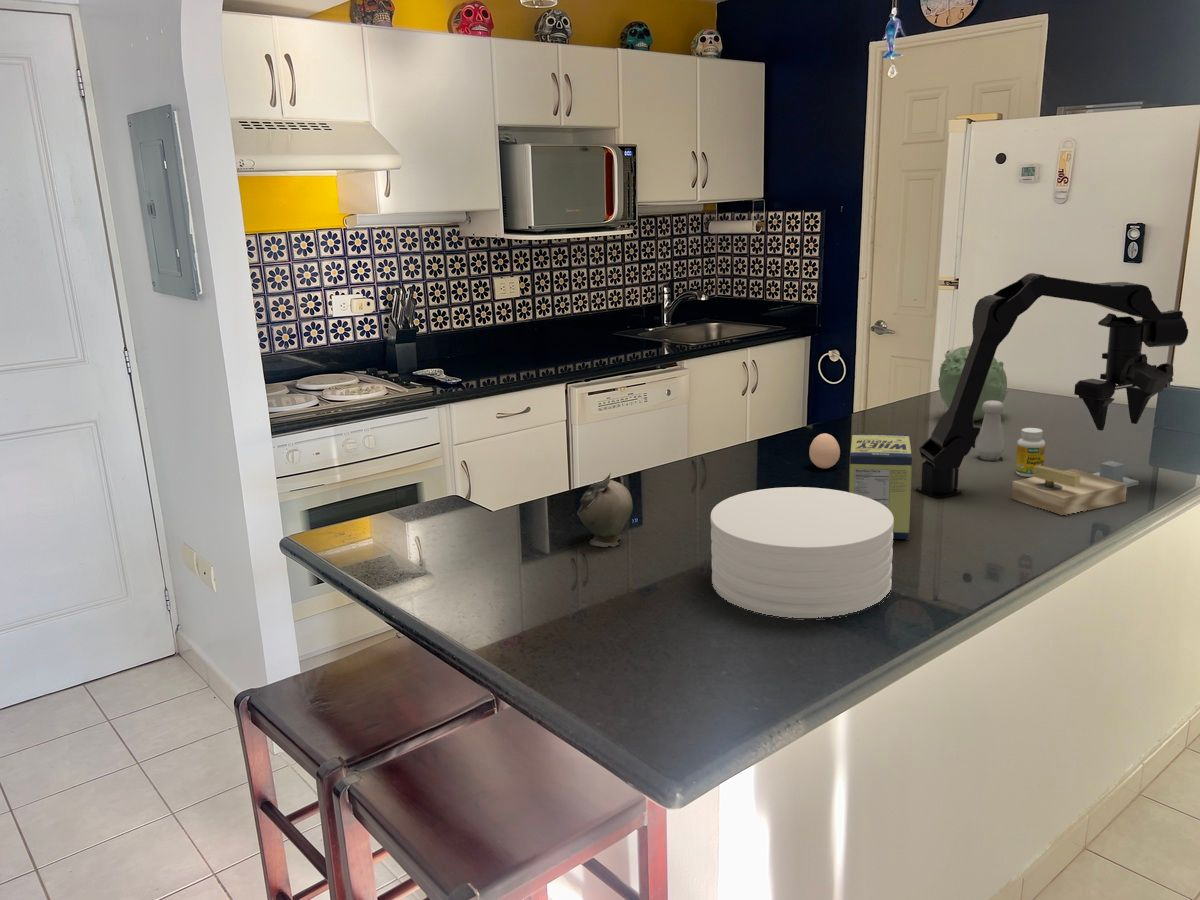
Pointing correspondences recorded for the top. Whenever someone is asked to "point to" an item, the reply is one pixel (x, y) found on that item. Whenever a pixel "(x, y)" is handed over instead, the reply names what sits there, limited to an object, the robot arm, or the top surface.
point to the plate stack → (801, 551)
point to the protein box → (884, 474)
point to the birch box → (1070, 493)
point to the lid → (1115, 473)
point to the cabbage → (952, 371)
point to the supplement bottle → (1030, 451)
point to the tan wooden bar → (1056, 476)
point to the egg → (824, 451)
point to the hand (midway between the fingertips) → (1117, 426)
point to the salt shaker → (991, 432)
